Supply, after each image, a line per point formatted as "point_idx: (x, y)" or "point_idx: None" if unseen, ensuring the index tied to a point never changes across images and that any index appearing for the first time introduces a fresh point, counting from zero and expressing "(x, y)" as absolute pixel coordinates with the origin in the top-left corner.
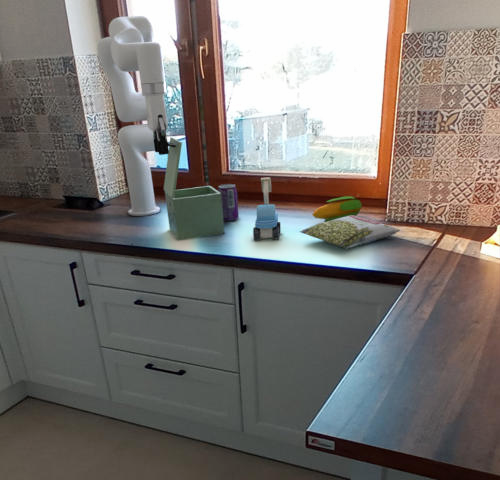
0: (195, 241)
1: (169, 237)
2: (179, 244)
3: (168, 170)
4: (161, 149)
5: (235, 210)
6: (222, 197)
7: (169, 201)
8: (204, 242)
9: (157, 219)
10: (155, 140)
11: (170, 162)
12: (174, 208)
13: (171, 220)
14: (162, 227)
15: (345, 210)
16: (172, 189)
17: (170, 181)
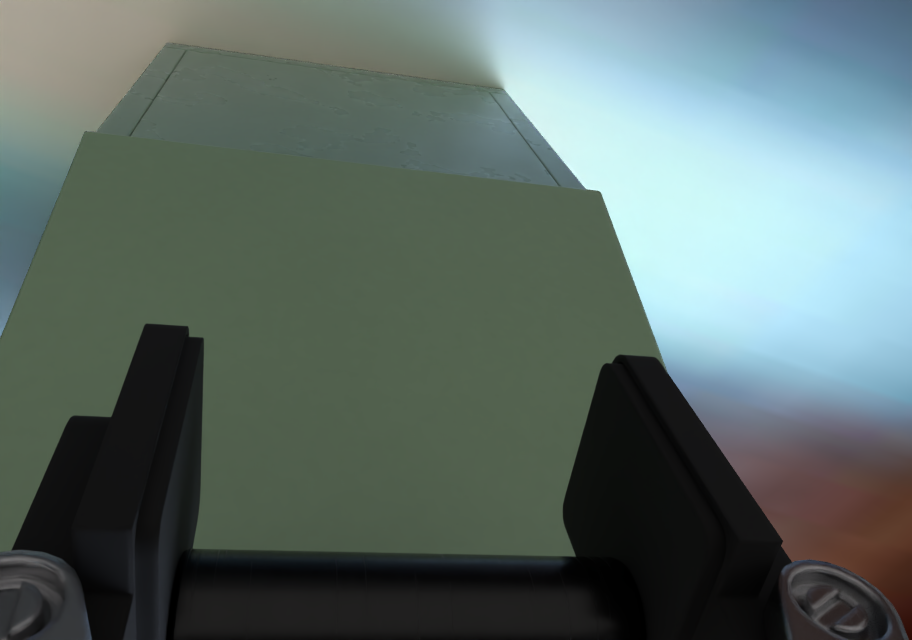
0: (68, 150)
1: (303, 12)
2: (42, 9)
3: (508, 350)
4: (59, 440)
5: None
6: None
7: (362, 147)
8: (4, 197)
9: (870, 116)
10: (689, 547)
11: (458, 443)
12: (112, 111)
13: (375, 98)
14: (628, 69)
15: None
16: (96, 189)
17: (278, 253)
